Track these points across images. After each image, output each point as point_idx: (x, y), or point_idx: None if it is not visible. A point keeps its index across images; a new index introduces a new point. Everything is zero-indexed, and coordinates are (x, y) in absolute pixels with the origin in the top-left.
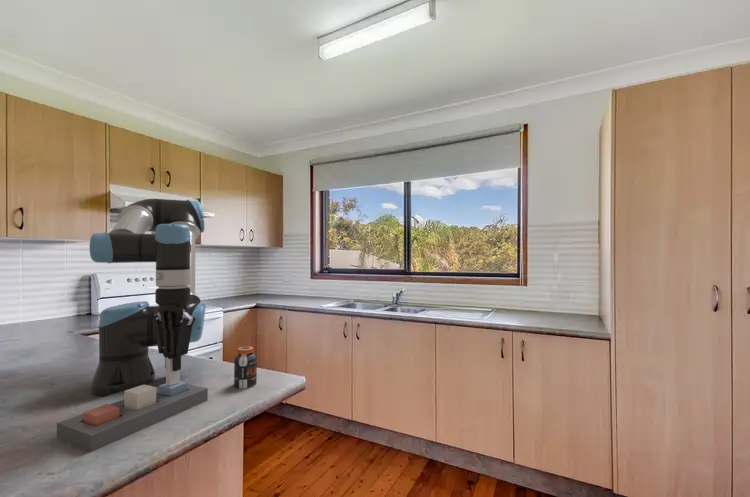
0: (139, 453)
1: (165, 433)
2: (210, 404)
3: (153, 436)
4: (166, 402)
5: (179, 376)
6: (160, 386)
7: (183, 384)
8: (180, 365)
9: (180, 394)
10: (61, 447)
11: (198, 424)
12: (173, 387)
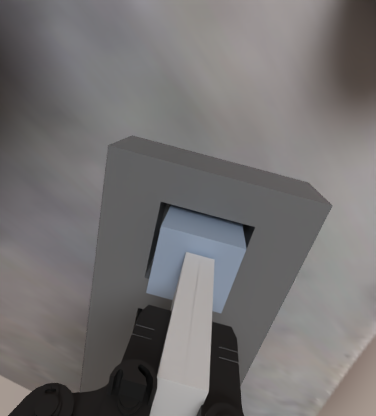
0: (285, 403)
1: (286, 345)
2: (319, 179)
3: (266, 356)
4: (245, 335)
5: (212, 279)
6: (157, 294)
7: (239, 263)
8: (236, 354)
9: (248, 276)
10: None
11: (350, 305)
12: (223, 303)
